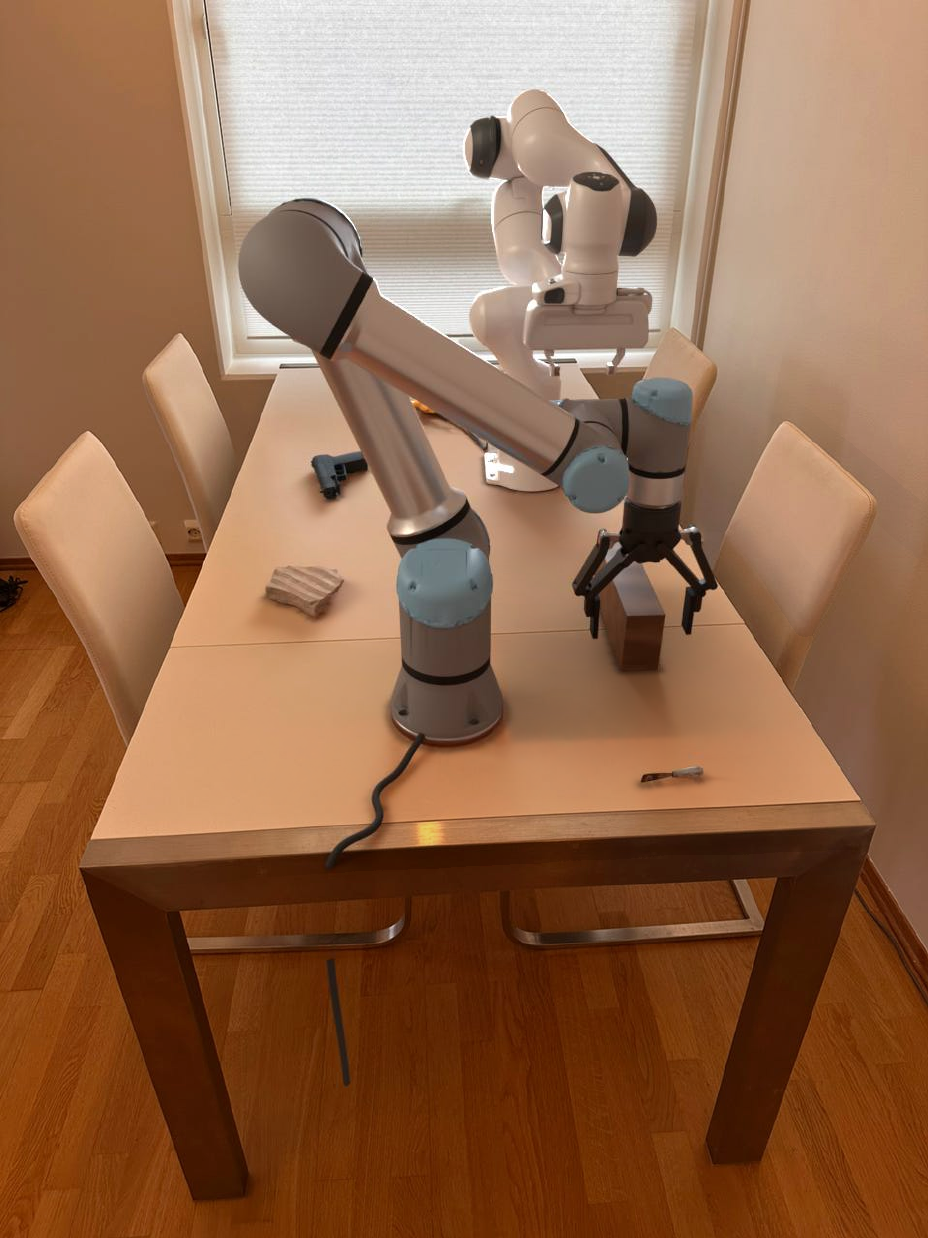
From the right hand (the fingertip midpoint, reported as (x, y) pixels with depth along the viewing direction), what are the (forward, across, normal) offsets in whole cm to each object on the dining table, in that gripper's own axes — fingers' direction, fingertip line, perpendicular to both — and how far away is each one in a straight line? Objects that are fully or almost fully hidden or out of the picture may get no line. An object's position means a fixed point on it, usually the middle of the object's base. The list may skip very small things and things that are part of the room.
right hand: (582, 375), depth 148 cm
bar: (+31, -3, +30) cm, 43 cm away
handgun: (+31, +44, -30) cm, 61 cm away
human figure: (+31, +19, -73) cm, 82 cm away
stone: (+31, +47, +18) cm, 59 cm away
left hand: (+26, -4, +38) cm, 47 cm away
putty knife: (+31, -2, +65) cm, 72 cm away
